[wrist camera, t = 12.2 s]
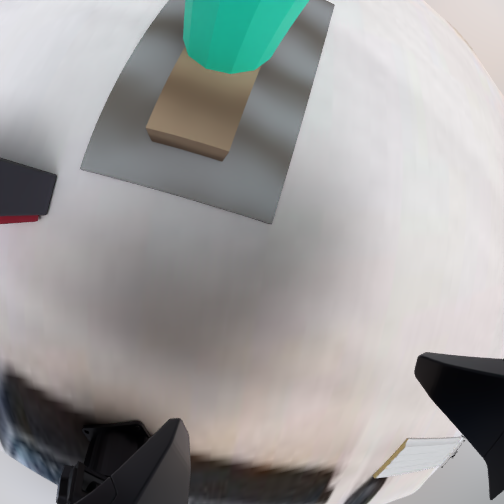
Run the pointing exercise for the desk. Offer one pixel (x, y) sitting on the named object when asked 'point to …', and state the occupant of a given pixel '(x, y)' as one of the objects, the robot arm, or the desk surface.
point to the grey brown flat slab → (208, 117)
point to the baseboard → (418, 455)
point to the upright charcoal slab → (23, 192)
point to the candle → (237, 31)
